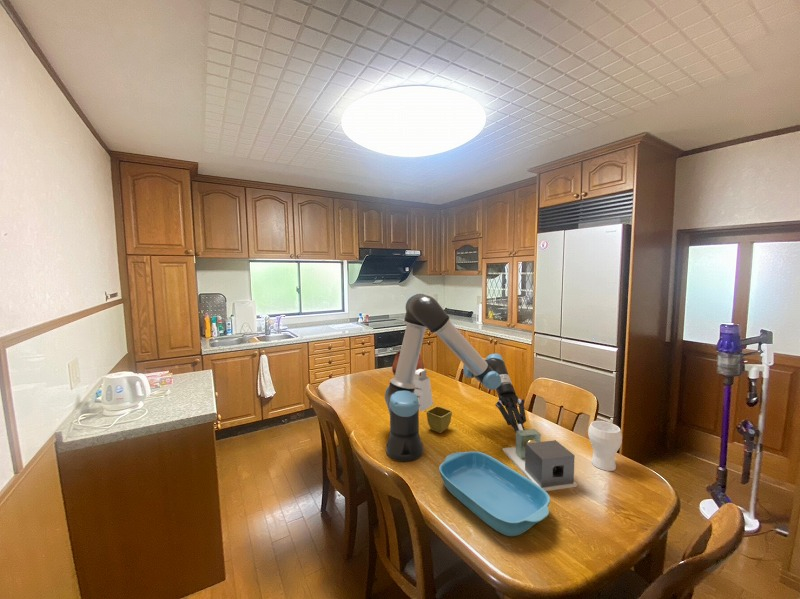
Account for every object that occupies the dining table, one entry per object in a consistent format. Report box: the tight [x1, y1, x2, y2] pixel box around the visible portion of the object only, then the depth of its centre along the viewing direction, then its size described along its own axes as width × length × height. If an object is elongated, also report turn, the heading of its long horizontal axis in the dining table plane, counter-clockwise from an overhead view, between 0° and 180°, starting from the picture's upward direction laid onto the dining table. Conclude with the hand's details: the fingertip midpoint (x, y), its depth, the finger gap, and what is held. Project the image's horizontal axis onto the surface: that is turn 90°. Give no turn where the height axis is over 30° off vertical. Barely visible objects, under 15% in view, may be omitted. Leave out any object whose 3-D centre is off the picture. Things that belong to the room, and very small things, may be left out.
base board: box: [502, 446, 578, 492], centre depth 121 cm, size 26×14×1 cm, turn 10°
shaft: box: [515, 428, 557, 471], centre depth 120 cm, size 18×8×9 cm, turn 10°
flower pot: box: [426, 405, 453, 434], centre depth 150 cm, size 9×9×9 cm
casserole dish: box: [438, 450, 551, 537], centre depth 104 cm, size 37×22×7 cm, turn 34°
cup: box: [587, 420, 623, 472], centre depth 121 cm, size 11×11×15 cm
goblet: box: [391, 350, 425, 376], centre depth 197 cm, size 19×19×25 cm
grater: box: [413, 368, 434, 412], centre depth 177 cm, size 10×10×20 cm
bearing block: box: [525, 439, 575, 488], centre depth 114 cm, size 10×12×10 cm
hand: (523, 441), depth 130 cm, fingers closed
